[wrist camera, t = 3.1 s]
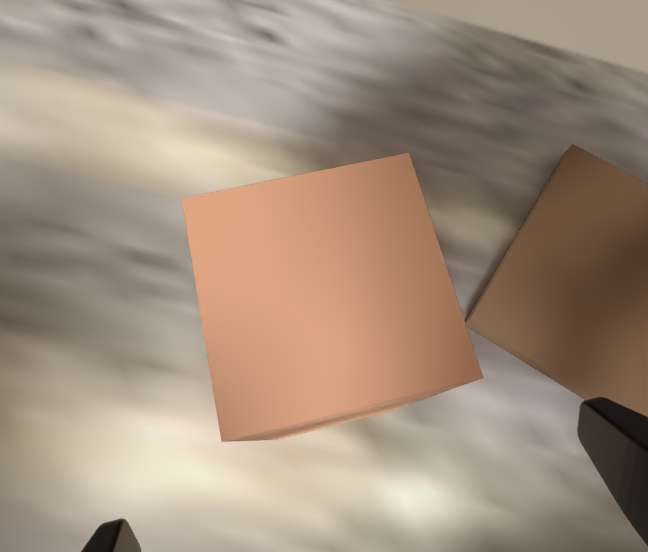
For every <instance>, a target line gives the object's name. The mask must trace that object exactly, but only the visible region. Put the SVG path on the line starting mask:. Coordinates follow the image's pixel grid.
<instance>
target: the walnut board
mask: <svg viewBox="0 0 648 552" xmlns="http://www.w3.org/2000/svg"><path fill="white" fill-rule="evenodd" d="M465 324H466V326H468V327H469V328H471V329H473V330H474V331H476V332H477V333H479V334H481V335H482V336H484V337H486V338H487V339H489V340H490V341H492V342H494V343H495V344H497V345H498V346H500V347H502V348H503V349H505V350H506V351H508V352H510V353H511V354H513V355H514V356H516V357H518V358H519V359H521V360H522V361H524V362H526V363H527V364H529V365H530V366H532V367H534V368H535V369H537V370H539V371H540V372H542V373H543V374H545V375H547V376H548V377H550V378H551V379H553V380H555V381H556V382H558V383H559V384H561V385H563V386H564V387H566V388H567V389H569V390H571V391H572V392H574V393H575V394H577V395H579V396H580V397H582V398H583V399H585V400H589V399H593V398H596V397H605V398H608V399H610V400H612V401H614V402H616V403H619V404H621V405H623V406H625V407H627V408H630V409H632V410H634V411H636V412H638V413H640V414H643V415H645V416H647V417H648V184H646V183H644V182H642V181H641V180H639V179H637V178H635V177H633V176H631V175H629V174H627V173H626V172H624V171H622V170H620V169H618V168H616V167H614V166H612V165H611V164H609V163H607V162H605V161H603V160H601V159H599V158H598V157H596V156H594V155H592V154H590V153H588V152H586V151H584V150H583V149H581V148H579V147H577V146H575V145H573V144H572V145H571V147H570V148H569V149H568V150H567V151H566V152H565V153H564V155H563V157H562V158H561V160H560V162H559V164H558V165H557V167H556V169H555V170H554V172H553V174H552V175H551V177H550V179H549V181H548V182H547V184H546V186H545V187H544V189H543V191H542V192H541V194H540V196H539V198H538V199H537V201H536V203H535V204H534V206H533V208H532V209H531V211H530V213H529V215H528V216H527V218H526V220H525V221H524V223H523V225H522V226H521V228H520V230H519V232H518V233H517V235H516V237H515V238H514V240H513V242H512V243H511V245H510V247H509V249H508V250H507V252H506V254H505V255H504V257H503V259H502V260H501V262H500V264H499V266H498V267H497V269H496V271H495V272H494V274H493V276H492V277H491V279H490V281H489V283H488V284H487V286H486V288H485V289H484V291H483V293H482V294H481V296H480V298H479V300H478V301H477V303H476V305H475V306H474V308H473V310H472V311H471V313H470V315H469V317H468V318H467V320H466V322H465Z"/></svg>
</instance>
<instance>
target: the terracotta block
mask: <svg viewBox="0 0 648 552" xmlns="http://www.w3.org/2000/svg"><path fill="white" fill-rule="evenodd" d="M182 203H183V209H184V215H185V221H186V227H187V233H188V240H189V246H190V252H191V258H192V264H193V270H194V276H195V282H196V288H197V294H198V300H199V307H200V313H201V319H202V325H203V331H204V337H205V343H206V349H207V355H208V361H209V368H210V374H211V380H212V386H213V392H214V398H215V404H216V410H217V416H218V422H219V428H220V435H221V441H222V442H226V441H255V440H278V439H282V438H286V437H290V436H294V435H298V434H302V433H306V432H310V431H314V430H319V429H323V428H327V427H331V426H335V425H339V424H343V423H347V422H351V421H355V420H359V419H363V418H367V417H371V416H375V415H379V414H383V413H387V412H390V411H393V410H396V409H398V408H401V407H404V406H406V405H409V404H412V403H415V402H417V401H420V400H423V399H426V398H428V397H431V396H434V395H437V394H439V393H442V392H445V391H448V390H450V389H453V388H456V387H459V386H461V385H464V384H467V383H470V382H472V381H475V380H478V379H480V378H483V375H482V372H481V369H480V366H479V363H478V360H477V357H476V354H475V351H474V348H473V345H472V342H471V339H470V336H469V333H468V330H467V327H466V324H465V321H464V318H463V315H462V312H461V309H460V306H459V303H458V299H457V296H456V293H455V290H454V287H453V284H452V281H451V278H450V275H449V272H448V269H447V266H446V263H445V260H444V257H443V254H442V251H441V248H440V245H439V242H438V239H437V236H436V233H435V230H434V227H433V224H432V221H431V218H430V215H429V212H428V209H427V206H426V203H425V200H424V197H423V194H422V191H421V188H420V185H419V182H418V179H417V176H416V173H415V170H414V167H413V164H412V161H411V158H410V155H409V153H405V154H400V155H395V156H390V157H385V158H380V159H375V160H370V161H365V162H360V163H355V164H350V165H345V166H340V167H335V168H330V169H325V170H321V171H316V172H311V173H306V174H301V175H296V176H291V177H286V178H281V179H276V180H271V181H266V182H261V183H256V184H251V185H246V186H241V187H236V188H231V189H226V190H221V191H216V192H211V193H206V194H201V195H197V196H192V197H187V198H182Z"/></svg>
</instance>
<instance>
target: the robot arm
mask: <svg viewBox="0 0 648 552" xmlns="http://www.w3.org/2000/svg"><path fill="white" fill-rule="evenodd" d="M578 437H579V440H580V442H581V444H582V446H583V447H584V449H585V451H586V452H587V454H588V455H589V457H590V459H591V460H592V462H593V464H594V465H595V467H596V469H597V470H598V472H599V474H600V475H601V477H602V479H603V480H604V482H605V484H606V485H607V487H608V489H609V490H610V492H611V494H612V495H613V497H614V499H615V500H616V502H617V503H618V505H619V507H620V508H621V510H622V511H623V513H624V514H625V516H626V517H627V519H628V520H629V521H630V523H631V524H632V526H633V527H634V528H635V530H636V531H637V532H638V534H639V535H640V536H641V538H642V539H643V540H644V542H645V543H646V544H647V546H648V417H647V416H645V415H643V414H640V413H638V412H636V411H634V410H632V409H630V408H627V407H625V406H623V405H621V404H619V403H616V402H614V401H612V400H610V399H608V398H605V397H596V398H593V399H589V400H585V401H583V402H582V403H581V405H580V412H579V421H578ZM81 552H141V548H140V545H139V543H138V541H137V539H136V537H135V535H134V533H133V531H132V529H131V527H130V525H129V523H128V522H127V520H125V519H117V520H113V521H109V522H105V523H103V524H101V525H100V526H99V527H98V529H97V530H96V531H95V533H94V534H93V536H92V537H91V539H90V540H89V541H88V543H87V544H86V546H85V547H84V548H83V550H82V551H81Z"/></svg>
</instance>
